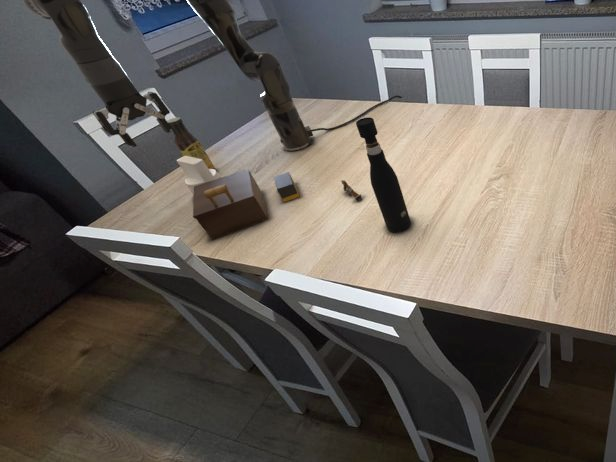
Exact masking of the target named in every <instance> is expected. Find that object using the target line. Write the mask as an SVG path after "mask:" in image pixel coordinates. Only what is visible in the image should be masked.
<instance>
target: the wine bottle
mask: <svg viewBox="0 0 616 462" xmlns="http://www.w3.org/2000/svg"><path fill="white" fill-rule="evenodd" d="M355 125H356V127H357V128H356V129H357V131H358V134H359V137H360V138H361V139H364V143H365V150H366V152H367V153H366V156H367V159H368V161H369V164H370V165H369V178H370V185H371V188H372V190H373V193H374V196H375V199H376V201H377V202H376V203H377V204H378V207H379V210H380V212H381V215H382V218H383V220H384V224H385V227H386V229H387V231H389V232H390V233H393V234H400V233H402V232H405V231H407V230H408V229H409V228H410V227H411V225H412V222H411V221H412V220H411V218H410V215H409V211H408V208H407V205H406V201H405V198H404V194H403V192H402V188H401V185H400V182H399V179H398V176H397V174H396V172H395V170H394V168H393V167H392V166H391V164H390V163H389V161H388V160H387V158H386V156H385V152H384V149H382V147H381V144H380V143H379V142H378V139H377V137H376V136H377V135H378V129H377V125H376V123H375V120H374V118H373V117H369V116H368V117H362V118H358V119H357V120H356V122H355Z"/></svg>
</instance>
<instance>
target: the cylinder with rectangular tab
mask: <svg viewBox="0 0 616 462" xmlns="http://www.w3.org/2000/svg"><path fill="white" fill-rule="evenodd" d="M176 162H177V164H178V165H179V167H180V168H181V169H182V171H183V172H184V173H185V175H186V176H187V177H186V178H185V179H184V184H185V185H186V186H187V188H188V189H189V191H190V192H191V193H192V195H193V196H194V186H196V185H200V184H203V183H206V182H209V181H212V180H215V179H218V178H221V176H220V175H219V173H218V171H217V170H216V169H215V170H214V169H208V167H207V166H206V164H205V163H204V161H203V160H202V159H198V158H194V157H189V156H183V155H182V156H181V157H179V158H178V159H176Z"/></svg>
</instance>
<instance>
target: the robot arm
mask: <svg viewBox="0 0 616 462" xmlns="http://www.w3.org/2000/svg"><path fill="white" fill-rule="evenodd" d="M186 1H187V3H188V5H190V7H191V8H192V9H193V11H194V12H195V13H196V14H197V15H198V16H199V18H200V19H201V20H202V21H203V22H204V23H205V24H206V26H207V27H208V28H209V30H210V31H211V32H212V33H213V34H214V36H215V37H216V38H217V40H219V42H220V43H221V44H222V46H223V47H224V48H225V50H226V51H227V52H228V54H229V55H230V57H231V59H232V60H233V62H234V63H235V65H236V66H237V67H238V69H239V70H240V72H241V73H242V74H243V75H244V76H245V77H246V78H247V79H249V80H251V81H253V82H259V83H261V84H262V87H263V89H264V92H262V93H261V94H260V101H261V102H262V104H263V106H264V108H265V111H266V112H267V114H268V117H269V119H270V120H271V123H272V124H273V126H274V129H275V130H276V133H277V135H278V136H279V139H280V140H279V141H280V143H281V144H282V146H283V147H284V149H285V150H286V151H289V152H294V151H300V150H302V149H305V148H307V147H308V146H310V145H312V144H313V142H312V140H311V137H313V136H314V133H313V132H318V131H333V130H336V129H339V128H342V127H344V126H346V125H348V124H350V123H352V122H355V121H357V120H358V119H360V118H361V117H362V116H364V115H365V114H367V113H368V112H370V111H372V110H373V109H374V108H377V107H378V106H381V105H383V104H385V103H387V102H390V101H392V100H393V99H396V98H399V99H402V98H403V97H402V96H401V95H393V96H391V97H390V98H388V99H385V100H383V101H381V102H379V103H377V104H375V105H373V106H371V107H370V108H367V109H366V110H365V111H363V112H362V113H360V114H358V115H357V116H355V117H353V118H352V119H350V120H349V121H346V122H344V123H341V124H338V125H337V126H334V127H328V128H326V127H319V128H312V129H311V127H310V125H306V126H305V124H304V122H303V120H302V118H301V116H300V113H299V111H298V109H297V107H296V105H295V103H294V100H293V98H292V95H291V92H290V85H289V82H288V79H287V77H286V74H285V72H284V69H283V67H282V64H281V63H280V61H279V59H278V58H277V57H276V56H275V55H274V54H273V53H271V52H267V51H256V50H255V49H254V48H253V47H252V45H250V44H249V42H248V41H247V40H246V38H245V36H244V35H243V34H242V32H241V29H240V26H239V22H238V19H237V14H236V12H235V9H234V7H233V5H232V4H231V2H230V1H229V0H186ZM22 2H23V4H24V6H25V7H26V9H28V10H29V11H30V12H31V13H32V14H34V15H36V16H38V17H40V18H42V19H46V20H49V21H52V22H53V24H54V26H55V27H56V29H57V30H58V32H59V33H60V36H59V39H58V41H59V43H60V45H61V46H62V48H63V49H64V50H65V52H66V53H67V54H68V55H69V57H70V59H72V61H73V62H74V64H75V65H76V66H77V68H78V70H79V71H80V73H81V75H82V76H83V77H84V80H85V81H86V82H87V83H88V84H89V85H90V87H91V89H93V91H94V92H95V93H96V95H97V96H98V97H99V98H100V99H101V101H102V103H103V104H104V105H105V108H103V109H101V110H97V109H95V110H93V111H92V114H93V116H94V117H95V119H96V120H97V122H98V123H99V125H100V126H101V128H102V129H103V130H104V132H105V133H106V134H108V135H111V136H117V135H118V136H119V137H120V138H121V140H122V141H123V143H125V145H127V146H130V147H133V148H135V147H138V145H137V144H136V142H135V141H134V140H133V138H132V137H131V136H130V135H129V133H128V132H127V127H128V122H129V121H134V120H136V119H138V118H141V117H144V116H145V114H147V115H149V116H152V117H154V118H156V121H157V123H158V124H159V126H160V127H161V129H162V130H163V131H164V132H165V133H166V134H169V133H171V132H172V129H171V127H170V125H169V124H168V122H167V121H168V120H167V119H166V116H167V115H170V113H171V111H170V110H169V108H168V107H167V106H166V104H165V103H164V102H163V100H162V99H161V97H160V96H159V95H158V93H157V92H154V91H148V92H147V93H146V94H143V95H142V94H141V93H140V91H139V90H138V89H137V88H136V86H135V84H134V83H133V81H132V80H131V78H130V77H129V75H128V74H127V73H126V72H125V70H124V68H123V67H122V66H121V63H119V62H118V61H117V59H116V58H115V57H114V56H113V55H112V53H111V51H110V50H109V48H108V47H107V46H106V44H105V43H104V42H103V40H102V38H100V36H99V35H98V32H97V30H96V27H95V25H94V23H93V20H92V19H91V15H90V14H89V12H88V10H87V7H86V6H85V4H84V3H83V1H81V0H22ZM147 100H148V101H149V102H153V103H154V105H155V106H156V107H157V109H158V110H159V111H158V112H157V111H156V110H153V109H151V108H148V107H147V102H148V101H147ZM109 114H111V115H113V116H115V128H114V127H113V126H112V124H111V123H110V121H109V120H108V119H109V118H110V117H109Z"/></svg>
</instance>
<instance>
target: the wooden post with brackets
mask: <svg viewBox="0 0 616 462" xmlns="http://www.w3.org/2000/svg"><path fill="white" fill-rule="evenodd" d="M340 182H341V184H342V186H343V191H344V192H346V194H348V196H353V197H354V198H355V202H358V201H360V200H361V199H362V198H363V197H362V194H361V193H360V194H359V193H358V192H356V191H354V188H352V187H351V186H350V185H349V184H348V183H347V181H346V180H344V179H341V181H340Z"/></svg>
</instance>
